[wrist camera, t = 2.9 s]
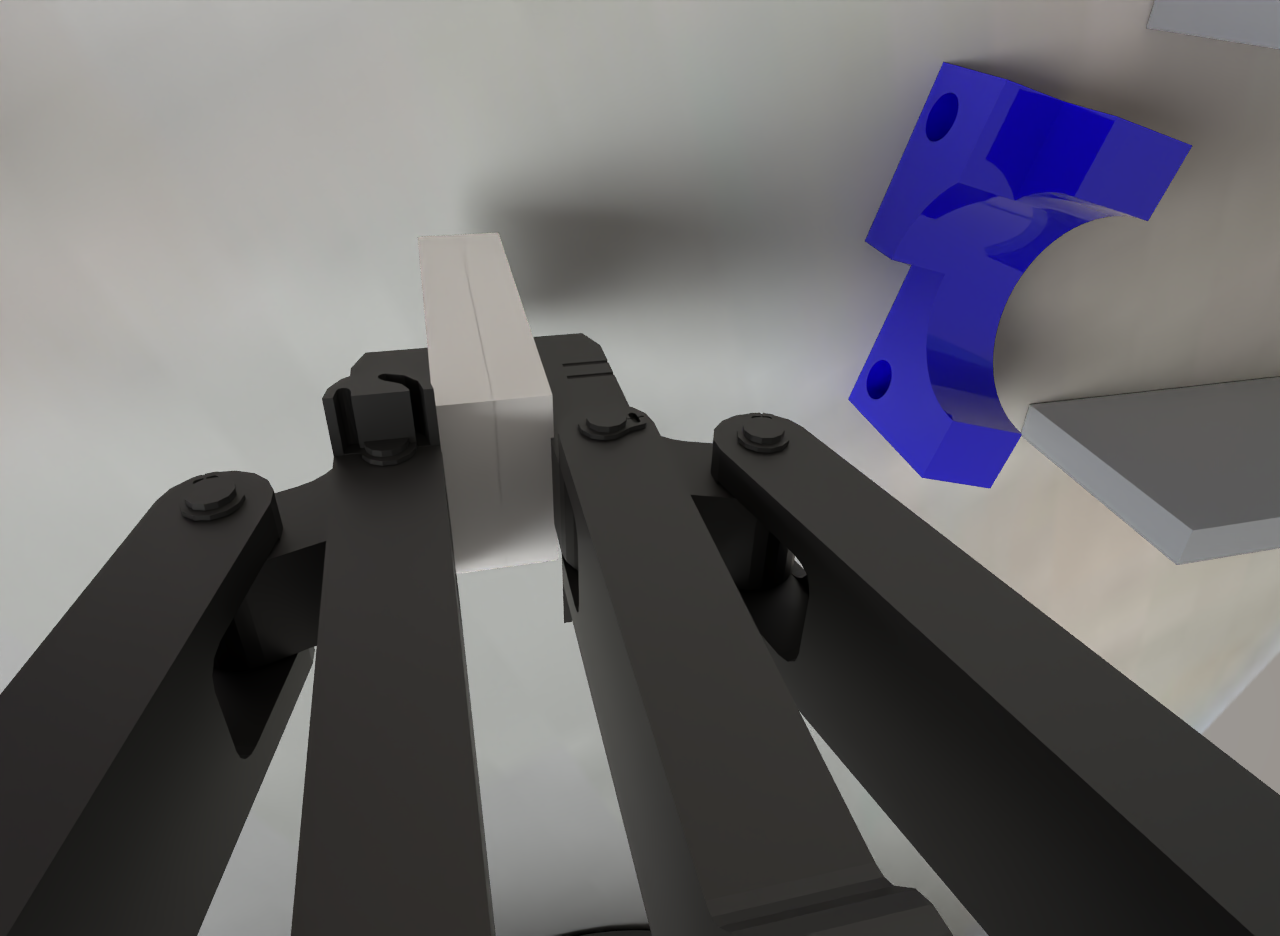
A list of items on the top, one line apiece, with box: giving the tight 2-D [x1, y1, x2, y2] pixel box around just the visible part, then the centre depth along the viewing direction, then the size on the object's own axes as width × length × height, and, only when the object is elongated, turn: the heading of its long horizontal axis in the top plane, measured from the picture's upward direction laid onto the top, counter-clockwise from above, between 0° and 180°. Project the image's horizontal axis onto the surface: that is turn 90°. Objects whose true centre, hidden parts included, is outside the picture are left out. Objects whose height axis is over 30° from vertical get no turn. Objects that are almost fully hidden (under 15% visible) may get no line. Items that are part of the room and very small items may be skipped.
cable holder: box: [848, 62, 1192, 488], centre depth 19 cm, size 8×4×4 cm, turn 162°
